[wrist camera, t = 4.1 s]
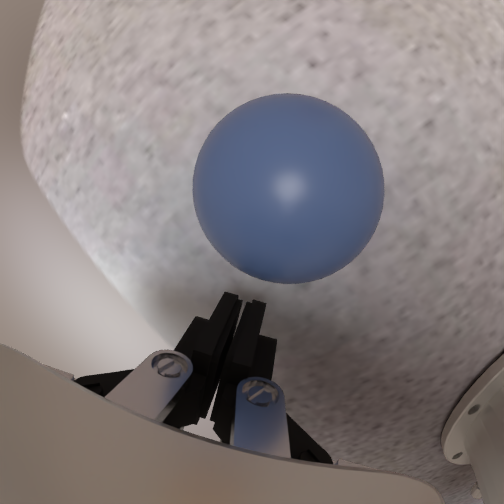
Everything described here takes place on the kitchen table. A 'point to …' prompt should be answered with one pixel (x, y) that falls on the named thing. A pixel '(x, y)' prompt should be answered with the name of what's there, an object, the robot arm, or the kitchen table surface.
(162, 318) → the kitchen table surface
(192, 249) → the kitchen table surface
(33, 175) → the kitchen table surface
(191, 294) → the kitchen table surface
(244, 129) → the blue ball
